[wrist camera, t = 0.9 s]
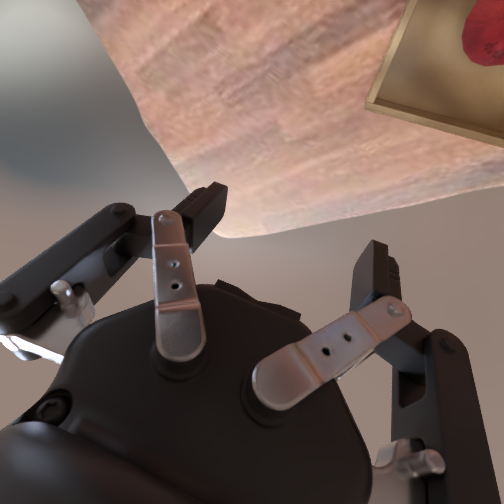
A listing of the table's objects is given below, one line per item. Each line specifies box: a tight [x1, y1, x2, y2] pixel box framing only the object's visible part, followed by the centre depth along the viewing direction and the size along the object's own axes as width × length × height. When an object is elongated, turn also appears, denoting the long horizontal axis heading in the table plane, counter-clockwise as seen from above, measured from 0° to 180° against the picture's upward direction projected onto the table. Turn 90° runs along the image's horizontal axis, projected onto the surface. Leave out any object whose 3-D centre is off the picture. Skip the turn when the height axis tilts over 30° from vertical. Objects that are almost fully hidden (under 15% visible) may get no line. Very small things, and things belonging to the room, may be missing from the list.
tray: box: [364, 0, 504, 148], centre depth 22 cm, size 16×15×4 cm
